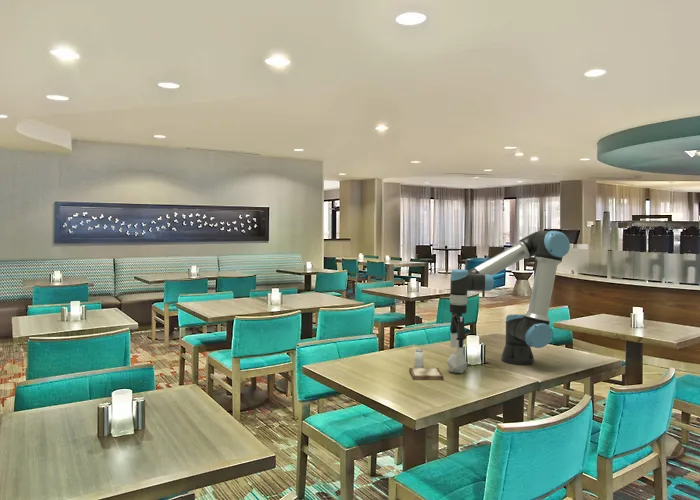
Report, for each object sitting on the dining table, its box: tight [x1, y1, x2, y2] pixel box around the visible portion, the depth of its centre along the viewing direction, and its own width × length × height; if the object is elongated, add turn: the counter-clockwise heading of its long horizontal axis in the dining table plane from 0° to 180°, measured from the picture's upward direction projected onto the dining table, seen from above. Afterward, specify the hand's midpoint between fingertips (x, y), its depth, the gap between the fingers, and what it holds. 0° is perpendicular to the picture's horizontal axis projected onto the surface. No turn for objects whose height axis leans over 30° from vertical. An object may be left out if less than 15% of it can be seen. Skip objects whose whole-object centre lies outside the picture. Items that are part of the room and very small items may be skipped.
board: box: [408, 367, 444, 381], centre depth 222 cm, size 13×13×2 cm
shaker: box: [414, 348, 424, 368], centre depth 236 cm, size 4×4×8 cm
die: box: [446, 352, 468, 374], centre depth 227 cm, size 8×9×10 cm
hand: (456, 350), depth 227 cm, fingers open, 13 cm apart
